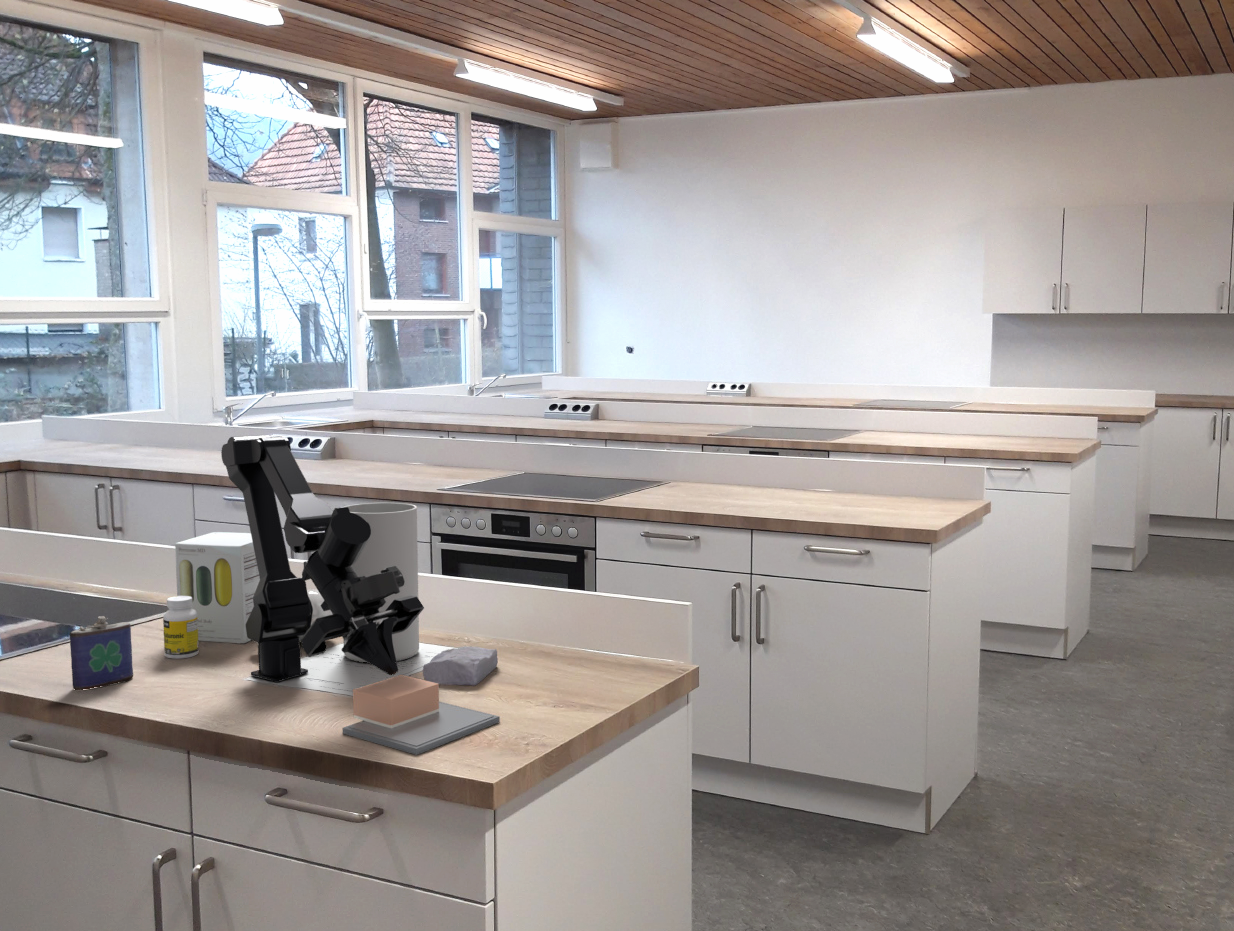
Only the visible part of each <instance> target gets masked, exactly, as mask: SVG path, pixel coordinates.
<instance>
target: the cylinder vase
mask: <svg viewBox="0 0 1234 931" xmlns="http://www.w3.org/2000/svg"><path fill="white" fill-rule="evenodd" d="M344 507H348V508H349V511H350V513H354V514H357V515H359V516H361V517H362V518H363V519H364V520H365V521H366V522H368V523H369V525H370V528H371V535H370V537H369V539H368V541H367V543H366V545H365V547H364V548H363V550H362V552H361V554H360V556H359V558H358V559H357V561H356V562H355V563H354V564H353V565H351V567H352V568H353V570H354V571H355V573H356V575H357V576H358V577H362V576H365V577H369V576H372V575H376V574H380V573H381V570H384V569H386V568H387V567H392V566H396V567H397V568H398V569H399V571H400V572H401V573H402V575H403V578H404V581H405V583H404V586H402V587H400V588H399V590H400V592H399V593H397V594H392V595H390V596H388V597H386V598H384V599H385V601H386V603H385V604H384V605H383V607H380V608H379V609H378V610H379V613H380V612H384V611H385V610H386V609H387V608H388V607H389V605H390V604H391V603H392V602H393V600H395V599H399V598H403V597H407V596H416V597H417V598H418V599H419V566H418V565H419V564H418V560H419V559H418V558H419V557H418V556H419V554H418V511H417V510H418V507H417V505H414V504H412V503H404V502H403V503H402V502H369V503H368V502H367V503H357V504H350V505H345V506H344ZM419 615H420V614H419ZM419 615H418V616H417V618H416V619H415V620H414V621H413V622H412V624H411V625H410V626H409V627H408V628H407V629H406V630H404V631H403V632H399V633H395V634H392V641H393V647H394V652H395V657H396V661H397V662H400V661H404V660H407V659H410V658H413V657H414V656H415V655H417V653H418V652H419V650H420V618H419ZM342 639H343V638H342ZM344 645H345V642H344V639H343V646H344ZM343 654H344V656H345V657H346V658H347V659H348V660H351V661H353V660H354V661H353V662H357V661H359V662H358V663H363V662H367V661H365V660H363V659H361V658H359V657H357V656H355V655H353V654H351V653H348V652H345V653H343ZM366 664H369V663H368V662H367V663H366Z"/></svg>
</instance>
